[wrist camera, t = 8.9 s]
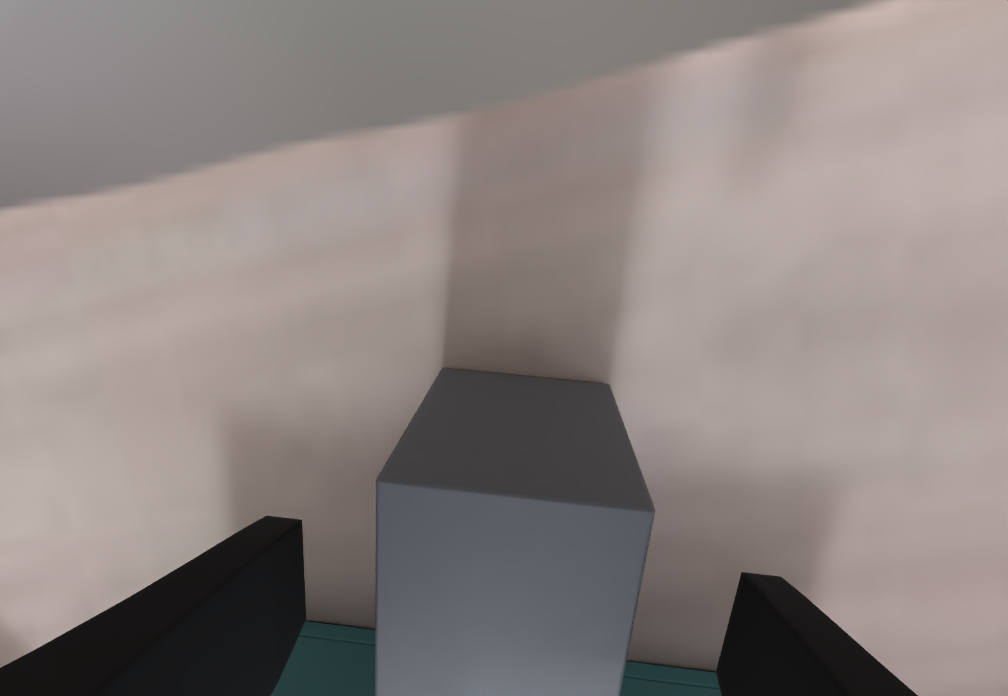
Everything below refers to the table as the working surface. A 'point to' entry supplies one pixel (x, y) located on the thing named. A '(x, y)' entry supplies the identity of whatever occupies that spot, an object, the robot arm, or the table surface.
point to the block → (509, 541)
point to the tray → (351, 668)
